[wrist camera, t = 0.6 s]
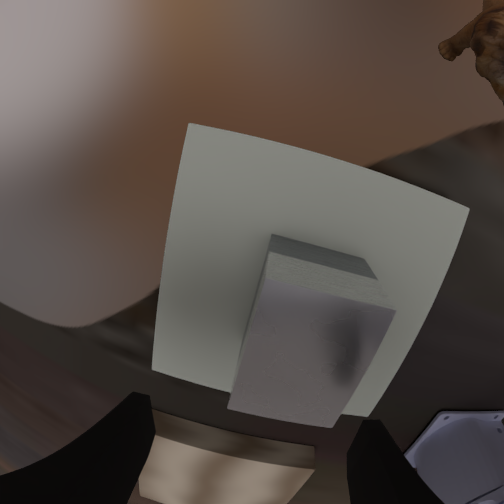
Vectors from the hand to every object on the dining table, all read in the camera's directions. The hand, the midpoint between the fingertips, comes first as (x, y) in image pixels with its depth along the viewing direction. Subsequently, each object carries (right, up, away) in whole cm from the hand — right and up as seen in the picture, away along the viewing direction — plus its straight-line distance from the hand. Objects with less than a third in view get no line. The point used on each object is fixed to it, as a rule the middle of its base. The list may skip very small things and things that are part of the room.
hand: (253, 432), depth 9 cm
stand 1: (+3, +4, +8) cm, 10 cm away
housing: (+2, +3, +6) cm, 7 cm away
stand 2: (-3, -15, +15) cm, 22 cm away
